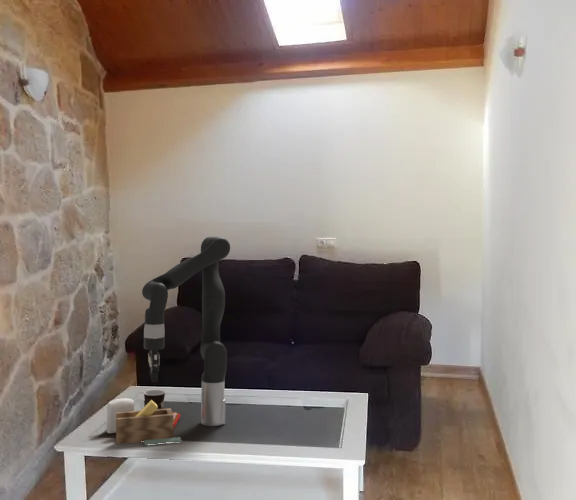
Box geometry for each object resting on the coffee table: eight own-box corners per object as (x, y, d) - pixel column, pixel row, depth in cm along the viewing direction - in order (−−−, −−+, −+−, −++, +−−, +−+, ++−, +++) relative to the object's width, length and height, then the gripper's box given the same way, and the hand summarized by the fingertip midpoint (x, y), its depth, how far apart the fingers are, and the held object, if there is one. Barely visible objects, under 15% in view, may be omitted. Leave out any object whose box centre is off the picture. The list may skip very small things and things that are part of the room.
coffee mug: (155, 412, 244) (155, 388, 244) (169, 415, 239) (169, 392, 239) (133, 418, 235) (133, 394, 235) (147, 422, 230) (147, 398, 230)
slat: (157, 404, 215) (151, 399, 215) (158, 407, 212) (152, 402, 211) (129, 433, 213) (123, 428, 212) (130, 436, 209) (124, 431, 208)
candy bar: (174, 430, 221) (174, 423, 221) (164, 430, 221) (164, 423, 221) (181, 418, 238) (181, 410, 237) (172, 417, 237) (172, 410, 237)
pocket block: (170, 431, 220) (170, 408, 220) (173, 439, 211) (173, 415, 211) (116, 436, 213) (116, 412, 213) (116, 444, 205) (117, 419, 205)
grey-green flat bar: (180, 439, 211) (180, 437, 211) (181, 442, 208) (181, 440, 208) (144, 442, 207) (144, 440, 207) (144, 446, 204) (144, 443, 204)
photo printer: (131, 427, 224) (132, 395, 224) (135, 430, 221) (135, 398, 220) (105, 431, 218) (105, 399, 218) (108, 434, 215) (108, 402, 215)
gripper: (142, 333, 218) (141, 375, 219) (145, 339, 205) (144, 384, 205) (162, 332, 221) (161, 374, 221) (166, 338, 207) (165, 383, 207)
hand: (153, 379), depth 213 cm, fingers open, 8 cm apart
